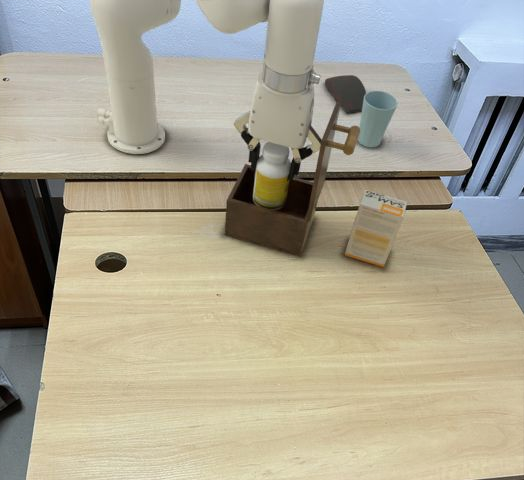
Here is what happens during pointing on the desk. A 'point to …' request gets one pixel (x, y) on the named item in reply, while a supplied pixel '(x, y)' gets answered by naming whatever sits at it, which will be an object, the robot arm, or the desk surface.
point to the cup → (375, 117)
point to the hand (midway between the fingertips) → (273, 170)
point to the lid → (325, 154)
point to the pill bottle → (272, 177)
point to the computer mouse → (347, 92)
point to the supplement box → (375, 228)
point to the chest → (269, 215)
